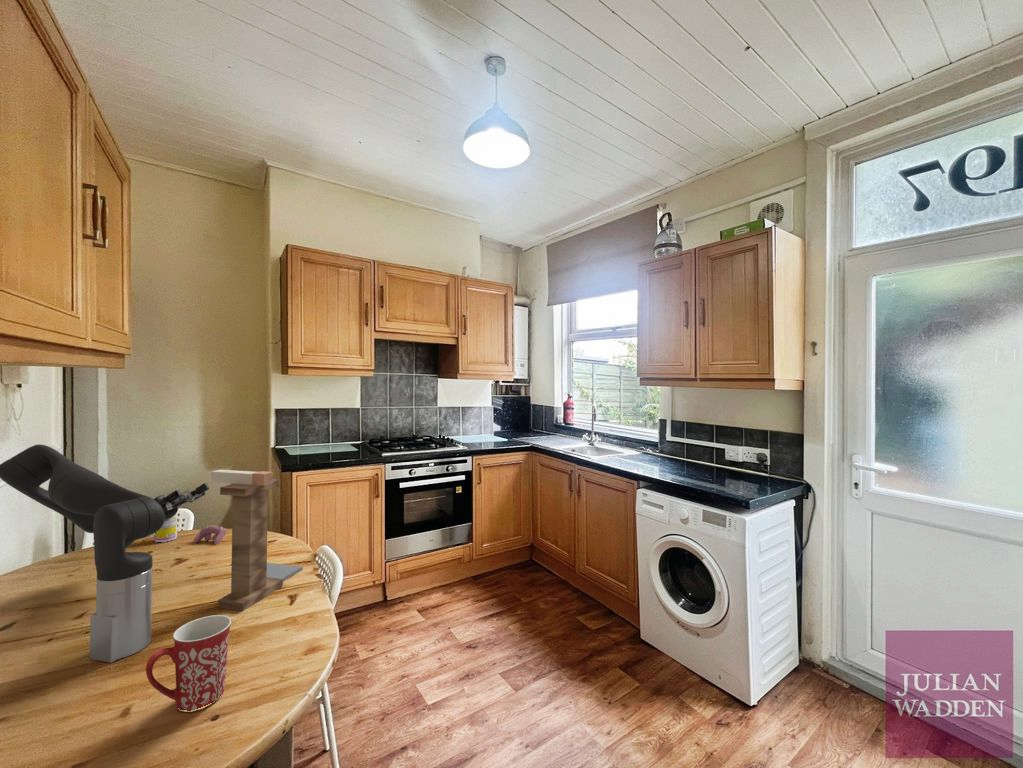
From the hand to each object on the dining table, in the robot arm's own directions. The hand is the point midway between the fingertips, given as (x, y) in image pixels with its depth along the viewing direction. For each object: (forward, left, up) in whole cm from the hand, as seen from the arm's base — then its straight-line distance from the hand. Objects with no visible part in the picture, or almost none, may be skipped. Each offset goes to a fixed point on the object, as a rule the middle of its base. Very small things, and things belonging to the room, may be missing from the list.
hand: (193, 489), depth 121 cm
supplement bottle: (+29, +46, -29) cm, 62 cm away
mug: (-36, -42, -29) cm, 62 cm away
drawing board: (+14, -15, -29) cm, 35 cm away
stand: (0, -20, -29) cm, 35 cm away
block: (0, -17, +3) cm, 17 cm away
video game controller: (+31, +28, -29) cm, 51 cm away
